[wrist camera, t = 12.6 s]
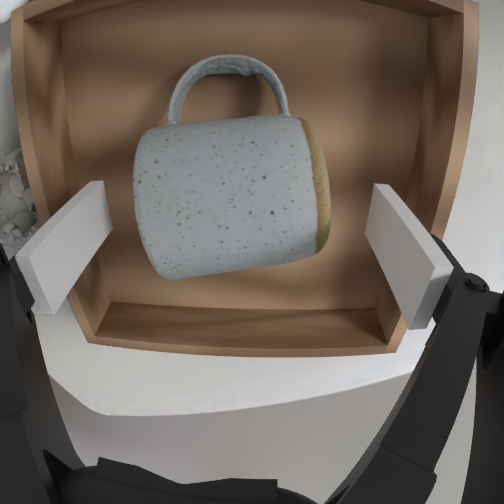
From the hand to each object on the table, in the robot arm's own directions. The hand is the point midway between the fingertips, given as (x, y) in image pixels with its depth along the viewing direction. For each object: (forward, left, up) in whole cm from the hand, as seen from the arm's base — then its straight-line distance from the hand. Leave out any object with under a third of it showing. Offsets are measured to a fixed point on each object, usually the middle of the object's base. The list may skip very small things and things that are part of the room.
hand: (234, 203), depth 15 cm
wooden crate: (0, 0, -6) cm, 6 cm away
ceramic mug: (-1, -1, -5) cm, 5 cm away
